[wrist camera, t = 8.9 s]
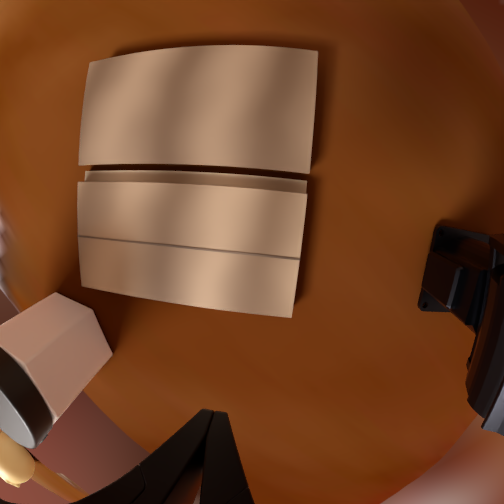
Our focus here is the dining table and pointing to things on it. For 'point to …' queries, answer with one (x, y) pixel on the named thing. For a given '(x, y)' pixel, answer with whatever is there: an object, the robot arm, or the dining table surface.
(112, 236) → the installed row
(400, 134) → the dining table surface
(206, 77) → the plank
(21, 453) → the sculpture
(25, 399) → the jar
